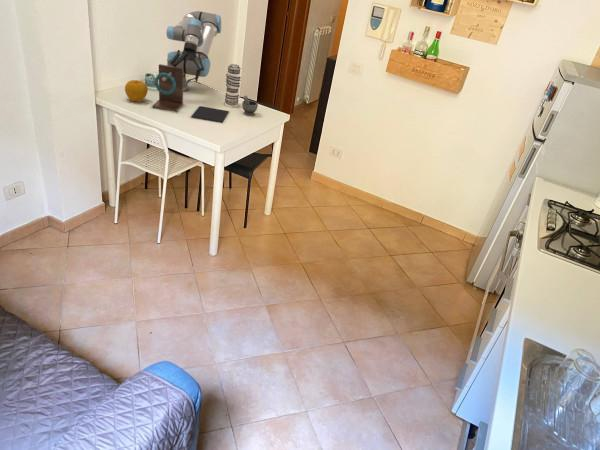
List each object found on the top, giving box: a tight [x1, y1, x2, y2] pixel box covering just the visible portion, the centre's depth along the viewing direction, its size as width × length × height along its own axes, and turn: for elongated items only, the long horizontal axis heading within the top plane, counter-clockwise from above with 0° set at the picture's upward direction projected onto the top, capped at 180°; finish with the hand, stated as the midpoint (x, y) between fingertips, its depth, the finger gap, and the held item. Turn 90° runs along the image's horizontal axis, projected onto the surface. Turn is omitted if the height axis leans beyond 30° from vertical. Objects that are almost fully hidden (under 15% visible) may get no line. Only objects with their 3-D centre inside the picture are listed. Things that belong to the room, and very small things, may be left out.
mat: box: [190, 105, 229, 123], centre depth 258 cm, size 20×18×1 cm
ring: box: [154, 73, 176, 95], centre depth 246 cm, size 2×12×12 cm, turn 88°
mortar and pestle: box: [241, 95, 259, 116], centre depth 267 cm, size 11×9×12 cm
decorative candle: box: [224, 63, 242, 108], centre depth 273 cm, size 9×9×25 cm
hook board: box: [152, 63, 184, 113], centre depth 252 cm, size 15×14×22 cm
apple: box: [124, 79, 149, 103], centre depth 255 cm, size 13×13×11 cm
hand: (184, 78), depth 258 cm, fingers open, 13 cm apart
